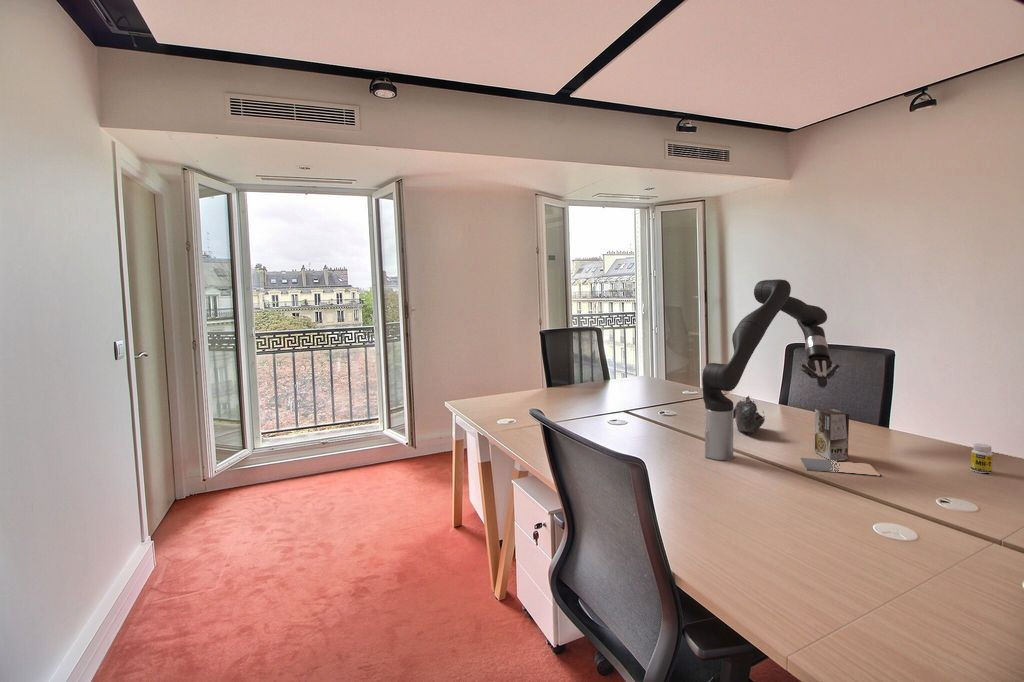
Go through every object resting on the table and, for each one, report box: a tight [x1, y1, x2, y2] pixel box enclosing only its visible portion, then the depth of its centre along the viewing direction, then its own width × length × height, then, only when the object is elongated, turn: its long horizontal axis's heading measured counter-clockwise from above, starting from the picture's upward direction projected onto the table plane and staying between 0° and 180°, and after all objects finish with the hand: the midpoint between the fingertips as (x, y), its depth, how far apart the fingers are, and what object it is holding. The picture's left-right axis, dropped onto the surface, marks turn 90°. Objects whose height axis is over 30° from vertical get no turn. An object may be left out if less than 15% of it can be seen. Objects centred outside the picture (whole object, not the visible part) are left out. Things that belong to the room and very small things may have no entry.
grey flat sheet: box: [800, 457, 840, 472], centre depth 160 cm, size 20×12×1 cm, turn 68°
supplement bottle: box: [969, 442, 993, 474], centre depth 151 cm, size 5×5×8 cm
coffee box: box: [814, 407, 850, 461], centre depth 169 cm, size 9×6×16 cm
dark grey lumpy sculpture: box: [733, 395, 766, 434], centre depth 200 cm, size 14×15×20 cm
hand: (823, 386), depth 181 cm, fingers closed
